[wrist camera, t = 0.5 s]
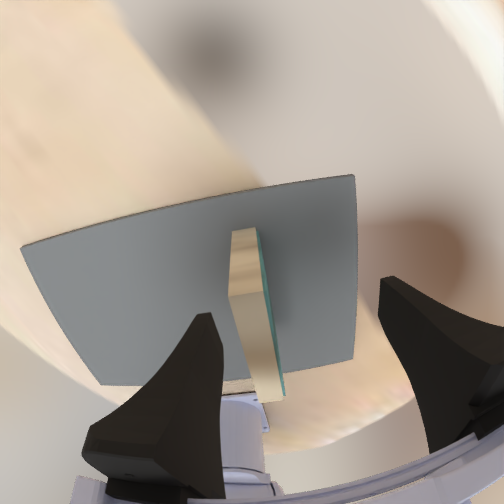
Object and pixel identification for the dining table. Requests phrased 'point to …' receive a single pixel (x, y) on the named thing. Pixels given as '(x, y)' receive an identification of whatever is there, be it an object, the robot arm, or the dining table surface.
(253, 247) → the birch tile
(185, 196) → the dining table surface
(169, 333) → the rubber mat
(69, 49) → the dining table surface
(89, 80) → the dining table surface
